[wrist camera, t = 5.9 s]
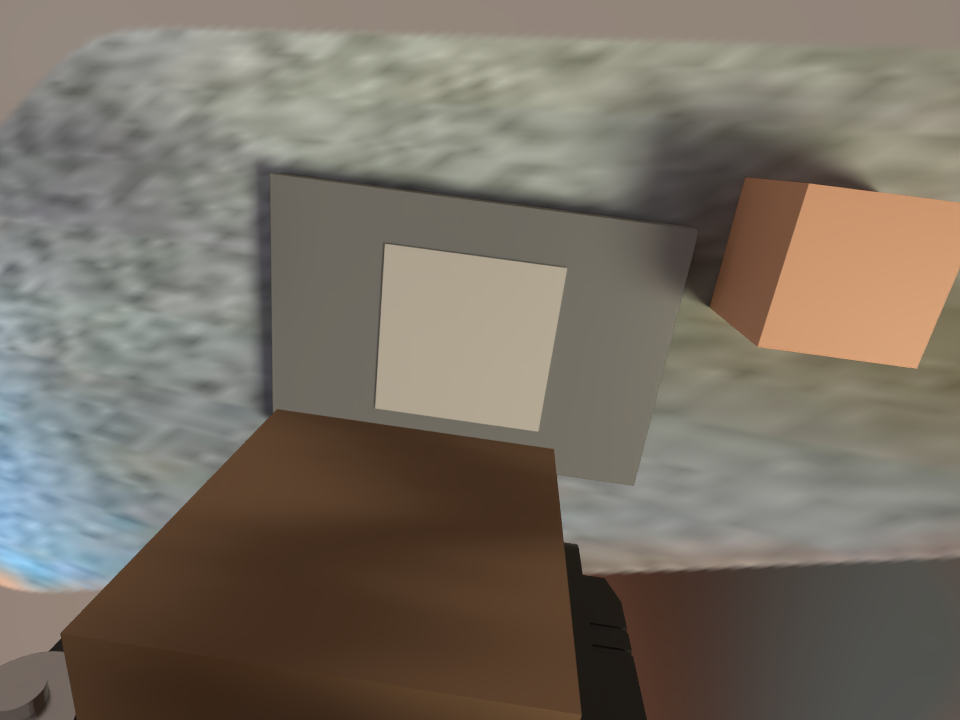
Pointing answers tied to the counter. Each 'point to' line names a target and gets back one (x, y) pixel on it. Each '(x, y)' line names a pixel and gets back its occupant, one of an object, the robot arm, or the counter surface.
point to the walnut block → (342, 587)
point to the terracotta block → (838, 270)
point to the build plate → (474, 317)
